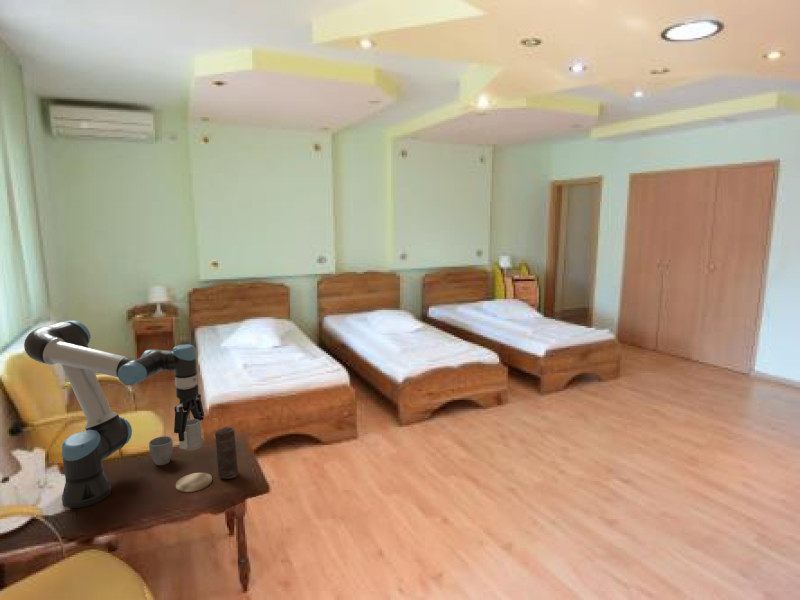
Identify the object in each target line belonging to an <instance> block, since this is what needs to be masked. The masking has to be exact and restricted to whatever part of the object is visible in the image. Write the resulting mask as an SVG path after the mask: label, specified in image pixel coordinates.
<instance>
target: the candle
mask: <svg viewBox="0 0 800 600" xmlns="http://www.w3.org/2000/svg"><path fill="white" fill-rule="evenodd" d="M235 435H236V434H235V428H234V427H230V426H223V427H221V428H219V429H218V430H216V431H215V432H214V436H215V438H214V439H215V449H216V450H215V451H216V462H217V463H216V464H217V475H218V477H219V478H221V479H233V478H236V477H238V475H239V470H238V469H239V468H238V460H237V448H236V436H235Z"/></svg>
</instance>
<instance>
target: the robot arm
mask: <svg viewBox="0 0 800 600" xmlns="http://www.w3.org/2000/svg"><path fill="white" fill-rule="evenodd" d="M91 336H92V335H91V332H90V330H89V328H88V327H87V326H86V325H85V324H84V323H82V322H79V321H77V320H66V321H65V320H64V321H59V322H57V323H53V324H50V325H46V326H42V327H38V328H36V329H34V330H32V331H31V332H29V333H28V335H27V336H26V337H25V339H24V342H23V347H24V351H25V353H26V354H27V356H28V357H29V358H30V359H32V360H34V361H35V362H38V363H42V364H46V365H55V364H59V365H61V367H62V368H63V370H64V373H65V376H66V377H67V380H68V383H69V384H70V386H71V388H72V390H73V393H74V395H75V397H76V399H77V401H78V404H79V406H80V408H81V410H82V412H83V413H82V414H83V415H84V416H85V419H86V421H87V422H86V424H85V426H84V428H85V429H84V430H81V431H80V432H76V433H72V434H71V435H70V436H68V437H67V438H66V439H64V440H63V443H62V445H61V457H62V463H63V470H64V477H65V478H64V479H65V483H64V486H63V492H62V494H61V501H62V502H61V503H62V505H63V506H64V507H65V506H66V508H71V509H78V508H84V507H85V508H86V507H89V506H92V505H94V504H97V503H99V502H101V501H103V500H104V499H106V498H107V497H108V496H109V495H110V494H111V492H112V487H111V483H110V481H109V480H108V478H107V476H106V474H105V471H104V465H103V463H104V460H105V459H107V458H109V457H110V456H112V454H114V453H116V452H117V451H120V450H121V449H122V448H124V446H125V445H126V444H128V443H129V442H130V440H131V438H132V435H133V429H132V425H131V423H130V422H129V420H127V419H125V417H122V416H120V415H119V413H118V412H115V411H113V410H112V409H111V407H110V404H109V402H108V399H107V397H106V396H105V393H104V391H103V388H102V386H101V384H100V381H99V379H98V378H97V375H96V373H97V374H103V375H106V376H111V377H115V378H118V380H119V382H121V383H122V384H123V385H125V386H133V385H137V384H140V383H141V382H144V381H145V380H147V379H148V378H150V377H153V376H154V375H156V374H157V373H160V372H163V371H167V372H168V371H169V372H171V371H174V381H175V382H174V384H175V392H176V393H175V394H176V397H177V399H178V400H179V405H175V406H174V408H173V409H174V424H173V425H174V427H173V433H174V434H178V441H179V443H178V444H179V449H182V450H183V449H187V448H188V444H187V432H186V431H185V428H186V423H187V418H188V414H189V413H191V415H192V417H193V419H198V420H199V421H200V427H201V428H202V422H201V421H203V420H204V419H205V418H204V417H205V413H204V411H205V410H204V409H203V408H204V406H203V405H202V404H203V403H202V399H201V398H202V394H201V393H199V385H198V371H197V355H196V348H195V346H194V345H192V344H189V343H188V344H178V345H175V346H174V347H173V348H172V350H167V349H166V350H165V349H147V350H146V349H145V351H144V352H143V353H142V354H140V355H141V356H140V357H138V358H132V357H128V356H125V355H124V356H123V355H120V354H116V353H112V352H107V351H105V350H104V351H103V350H100V349H96V348H90V347H89V346H88V345H89V344H90V342H91V340H90V339H91ZM202 436H203V432H202V430H201V437H202Z"/></svg>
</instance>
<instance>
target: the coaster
mask: <svg viewBox="0 0 800 600" xmlns="http://www.w3.org/2000/svg"><path fill="white" fill-rule="evenodd" d="M212 481H213V477H212V475H211V474H210V473H207V472H194V473H189V474H186V475H184V476H182V477H181V478H179V479H178V480H176V483H175V489H176V490H177V491H178V492H181V493H195V492H197V491H201V490H203V489H205V488H207V487H208V486H210V485H211V483H213V482H212Z"/></svg>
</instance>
